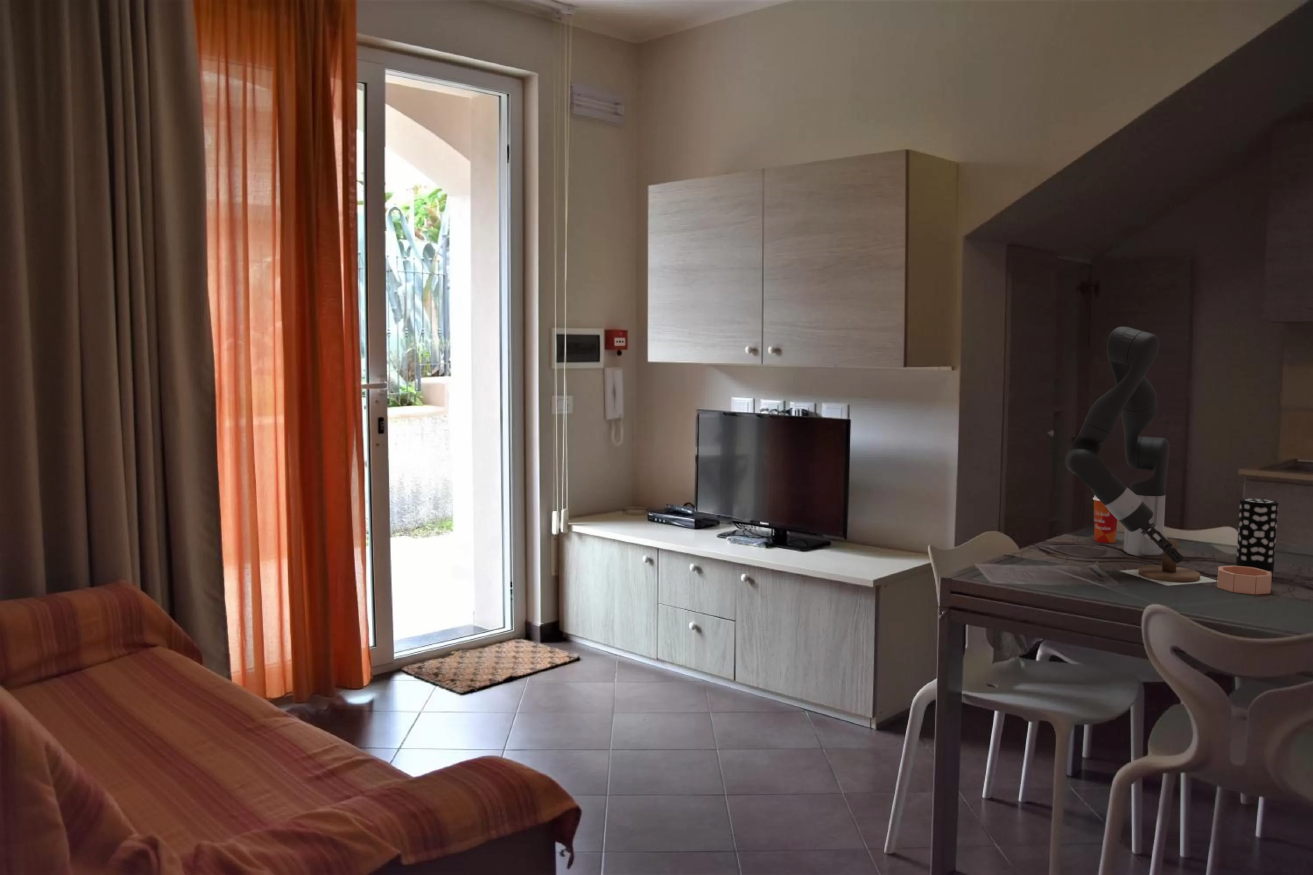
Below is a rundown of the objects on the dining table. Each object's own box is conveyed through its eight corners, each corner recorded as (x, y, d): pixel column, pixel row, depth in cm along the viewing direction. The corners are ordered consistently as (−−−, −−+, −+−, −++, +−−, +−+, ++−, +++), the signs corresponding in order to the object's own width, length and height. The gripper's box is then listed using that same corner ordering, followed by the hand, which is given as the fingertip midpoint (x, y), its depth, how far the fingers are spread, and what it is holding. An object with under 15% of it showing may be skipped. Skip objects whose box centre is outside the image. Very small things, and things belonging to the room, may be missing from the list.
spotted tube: (1227, 575, 257) (1232, 499, 255) (1251, 573, 260) (1256, 497, 258) (1257, 583, 250) (1262, 504, 248) (1280, 580, 253) (1286, 502, 251)
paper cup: (1085, 539, 303) (1087, 493, 302) (1105, 538, 305) (1108, 492, 304) (1103, 544, 296) (1106, 497, 294) (1124, 543, 298) (1127, 496, 297)
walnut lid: (1125, 571, 258) (1127, 536, 257) (1169, 568, 262) (1171, 533, 261) (1167, 584, 245) (1169, 547, 244) (1213, 580, 249) (1215, 544, 248)
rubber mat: (1119, 573, 259) (1119, 570, 259) (1169, 569, 263) (1170, 566, 263) (1166, 588, 244) (1167, 585, 244) (1219, 584, 248) (1219, 581, 248)
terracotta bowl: (1206, 587, 245) (1207, 567, 245) (1242, 584, 248) (1243, 564, 248) (1244, 598, 235) (1245, 577, 234) (1281, 595, 238) (1282, 574, 237)
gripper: (1146, 503, 247) (1197, 555, 245) (1135, 495, 260) (1184, 543, 258) (1121, 523, 249) (1172, 574, 247) (1112, 514, 262) (1160, 562, 260)
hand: (1178, 558), depth 253 cm, fingers open, 4 cm apart
